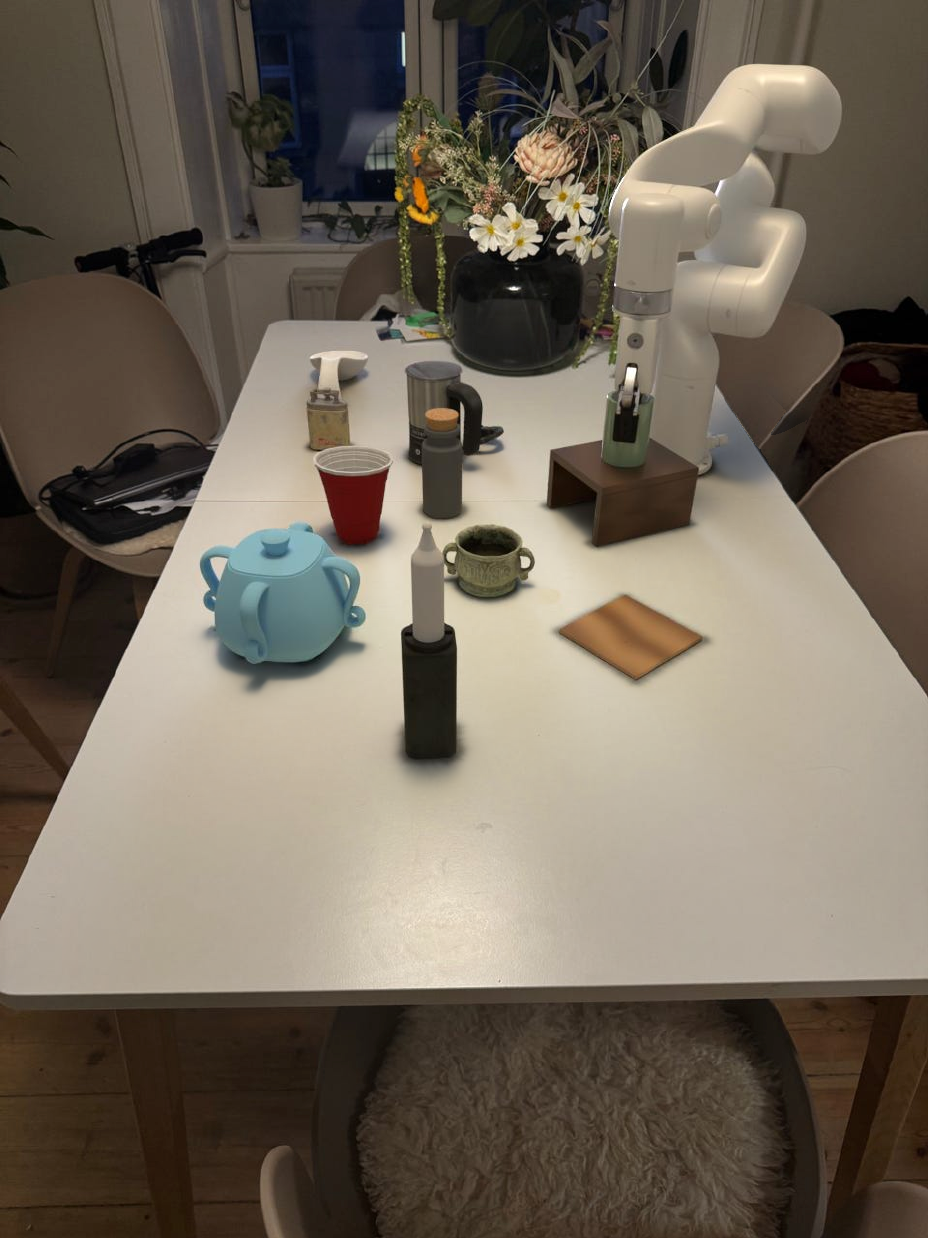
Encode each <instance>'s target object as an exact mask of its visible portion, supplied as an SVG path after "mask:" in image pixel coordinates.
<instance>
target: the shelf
mask: <svg viewBox="0 0 928 1238" xmlns="http://www.w3.org/2000/svg"><path fill="white" fill-rule="evenodd" d="M602 441H603V439H600V440H599V439H598V440H594V441H589V442H584V443H583V442H582V443H578V444H573V445H568V446H563V447H558V448H557V447H556V448H552V449H550V452H549V462H548V463H549V465H548V478H547V479H548V480H547V491H546V492H547V493H546V494H547V495H546V507H548V508H549V509H554V508H559V507H562V506H567V505H572V504H577V503H582V502H586V501H590V500H591V501H592V500H595V499H596V501H595V510H594V519H593V528H592V529H593V530H592V538H591V544H593V546H594V547H601V546H605V545H609V544H613V543H618V542H622V541H625V540H630V539H634V538H638V537H642V536H647V535H650V534H654V533H659V532H663V531H666V530H672V529H677V528H680V527H685V526H688V525H690V523H691V518H692V516H691V515H692V511H693V505H694V499H695V494H696V489H697V484H698V477H699V475H698V471H699V467H697V466H696V465H694V464H692V463H691V462H689V461H687V460H686V459H684V458H683V457H681V456H679V455H678V454H676V453H674V452H673V451H671V450H669V449H668V448H666V447H665V446H663V445H661V444H660V443H658V442H656V441H655V440H653V439H651V438H650V437H649V443H648V450H647V457H646V462H645V463H644V464H642V465H640V466H637V467H628V468H627V467H617V466H613V465H610V464H607V463H606V462H604V461H603V460H602V459H601V451H602Z"/></svg>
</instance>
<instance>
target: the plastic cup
mask: <svg viewBox="0 0 928 1238" xmlns="http://www.w3.org/2000/svg"><path fill="white" fill-rule="evenodd" d="M312 461H313V464H314V467H315V468H316V470H317V471H318V473H319V478H320V481H321V484H322V487H323V491H324V494H325V499H326V502H327V505H328V511H329V513H330V518H331V520H332V522H333V526H334V530H335V534H336V537H337V538H338V540H339V541H340V542H341V543H344V544H347V545H353V546H354V545H355V546H358V545H366V544H369V543H372V542H373V541H375V540H376V539H377V537H378V534H379V531H380V523H381V517H382V516H381V515H382V514H383V513H382V512H383V507H384V506H383V505H384V501H385V492H386V484H387V480H388V476H389V475H388V474H389V472H390V469H391V467H392V464H393V463H394V457H393V455H392V454H391V453H390V452H387V451H386V450H384V449H381V448H376V447H372V446H364V445H351V446H340V447H334V448H329V449H326V450H320V451H319V452H316V454H315V455H314V456H313V457H312Z"/></svg>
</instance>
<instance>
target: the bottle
mask: <svg viewBox="0 0 928 1238" xmlns="http://www.w3.org/2000/svg"><path fill="white" fill-rule="evenodd" d="M458 416H459V414H458V412H457V411H455V410H452V409H447V408H437V409H432V410H429V411H427V412H426V413H425V417H426V422H427V423H426V424H425V425H424V433H425V435H426V436H428V438H426V439H425V440H424V441H423V443H422V464H421V478H422V479H421V482H422V485H421V486H422V487H421V489H422V510H423V513H424V514H425V515H426V516H427V517H430V518H433V519H442V520H443V519H452V518H455V517H456V516H459V515H460V514H461V513H462V509H463V456H462V452H463V450H462V446H463V441H462V440H461V441H460V440H459V439H458V438H456V436H458V435H459V433H460V426H459V424H458V423H457V421H458Z"/></svg>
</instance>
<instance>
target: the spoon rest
mask: <svg viewBox="0 0 928 1238" xmlns="http://www.w3.org/2000/svg"><path fill="white" fill-rule="evenodd" d="M368 360H369V355H367V354H366V353H364V352H361V351H355V350H332V351H331V350H330V351H322V352H319V353H315V354H312V355H311V356H310V357H309V362H310V364H311V365H312V367H313V368H314V369H315V370H316V371H317V372H318V373H319V375H318V376H319V378H318V384H317V389H324V388H331V390H337V391H339V395H338V399H343V398H342V392H341V387H340V383H339V381H347V380H350V379H353V378H354V377H355V376H356V375H358V374H359V373H361V372H362V371H363V369H364V368H365V367H366V366H367V363H368ZM317 397H318V398H326V397H325V396H324V394H317ZM330 398H332V399H334V397H333V396H330Z"/></svg>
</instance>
